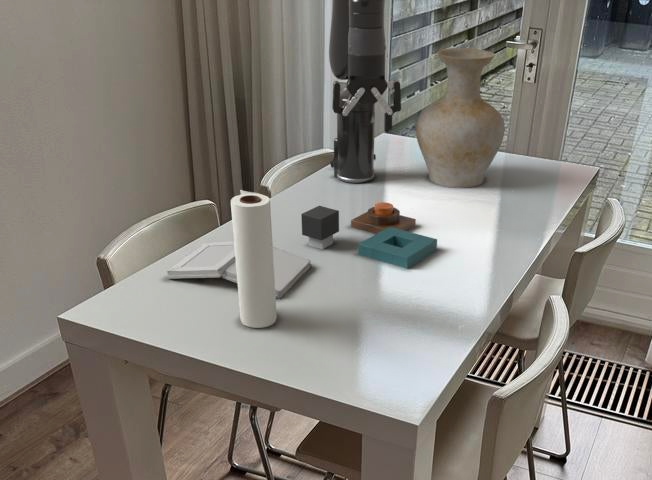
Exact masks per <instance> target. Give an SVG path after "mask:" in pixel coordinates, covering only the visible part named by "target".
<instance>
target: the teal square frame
mask: <svg viewBox="0 0 652 480" xmlns="http://www.w3.org/2000/svg"><path fill="white" fill-rule="evenodd" d="M357 246H358V247H357V248H358V249H357V250H358V256H361V257H364V258H367V259H371V260H375V261H378V262H382V263H385V264H388V265H392V266H394V267H395V266H396V267H399V268H402V269H405V270H408V269H410V268H411V267H413V266H414V265H416V264H417V263H419V262H421V261H422V260H424V259H425V258H426V257H428V256H430V255H431V254H433V253H434V252H436V251H437V249H438V238H434V237H430V236H426V235H423V234H420V233H415V232H412V231H409V230H408V231H403V230H400V229H396V228H392V227H388V228H386V229H385V230H383V231H381V232H379V233H377V234H373V235H372V236H370V237H369V238H367V239H365V240H362V241H361V242H359V243H358V245H357Z"/></svg>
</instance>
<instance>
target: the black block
mask: <svg viewBox="0 0 652 480" xmlns="http://www.w3.org/2000/svg"><path fill="white" fill-rule="evenodd" d="M300 215H301V216H300V217H301V235H302V236H305V237H308V246H311V247H313V248H317V249H320V250H324V249H326V248H328V247H330V246H332V245H333V244H334V235H335V234H337V233H339V232H340V210H337V209H334V208H331V207H326V206H323V205H318V206H315V207H313V208H311V209H309V210H307V211H305V212H302V213H301V214H300Z"/></svg>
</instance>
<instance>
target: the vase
mask: <svg viewBox="0 0 652 480" xmlns="http://www.w3.org/2000/svg"><path fill="white" fill-rule="evenodd" d="M436 53H437V56H438V59H439V60H440V62H441V63H443V64H444V65H445V67H446V70H447V82H446V88H445V92H444V94H443V96H442V97H440V98H439V99H437V100H434V101H433V102H431V103H430V104H428V105H427V106H425V108H423V109H422V110H421V112H420V113H419V115H417V119H416V125H415V135H416V141H417V144H418V148H419V150H420V152H421V156H422V158H423V160H424V162H425V165H426V168H427V170H428V179H429V181H430V182H432V183H433V184H435V185H438V186H442V187H446V188H458V189H459V188H460V189H462V188H463V189H464V188H465V189H466V188H473V187H477V186H479V185H481V184H483V182H484V180H485V176H486V173H487V171H488V169H489V167H490V166H491V164H492V163H493V161H494V159H495V157H496V155H498V152H499V150H500V147H502V143H503V139H504V136H505V131H506V130H505V129H506V126H505V125H506V124H505V121H504V118H503V116H502V114H501V113H500V111H498V109H496V108H495V107H494V106H493V105H492V104H490V103H488V102H487V101H485V100H484V99H483V98H482V95H481V78H482V73H483V70H484V68H485V67H486V66H488V65H489V64H490V63H491V62H492V60H493V59H494V57H495V56H496V55H495V53H494V52H492V51H490V50H487V49H486V50H485V49H478V48H470V47H469V48H468V47H453V48H443V49H439V50H437V51H436Z"/></svg>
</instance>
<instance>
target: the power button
mask: <svg viewBox="0 0 652 480" xmlns="http://www.w3.org/2000/svg"><path fill="white" fill-rule="evenodd" d="M374 207H375V212H374V213H375V214H377V215H392V214H393V207H394V205H393V204H392V203H390V202H377V203H374Z"/></svg>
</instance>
